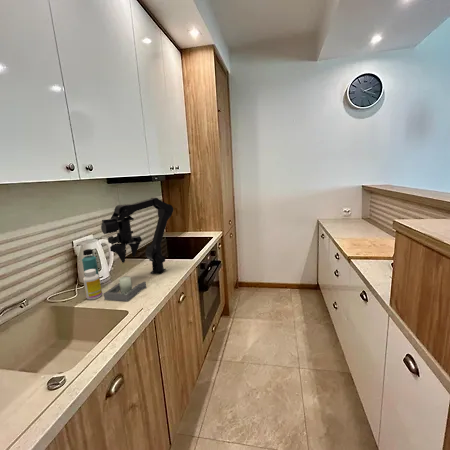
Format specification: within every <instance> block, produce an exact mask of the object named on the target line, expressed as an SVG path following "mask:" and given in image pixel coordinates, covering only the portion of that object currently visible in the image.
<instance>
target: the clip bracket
mask: <svg viewBox="0 0 450 450" xmlns="http://www.w3.org/2000/svg"><path fill="white" fill-rule="evenodd" d="M144 289H147V283H146V281H142V282H140V283H138V284H136V285H134V287H132V289H131V290H130V291H129V292H127V293H121V291H120V284H119V282H118V283H116V284H115V285H114V286H112V287H110V289H108V290H107V291H105V292H103V299H104V301H117V302H130V301H131V300H132V299H133V298H135V296H137V294H139V293H140V292H141V291H143V290H144Z"/></svg>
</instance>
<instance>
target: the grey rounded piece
mask: <svg viewBox="0 0 450 450" xmlns="http://www.w3.org/2000/svg"><path fill="white" fill-rule="evenodd" d="M118 283H119V284H120V291H119V292H120V293H127V292H129V291H130V290H131V289H132V288H133V284H132V277H131V276H122V277H120V278H119V279H118Z"/></svg>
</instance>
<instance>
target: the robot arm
mask: <svg viewBox="0 0 450 450" xmlns="http://www.w3.org/2000/svg"><path fill="white" fill-rule="evenodd" d="M151 207H154V209H156V210H157V216H158V220H157V223H156V226H155V230H154V234H153V238H152V240H151V241H152V242H151V244H150V245H147V246H146V249H145V251H144V253H145V257H146V258H147V259H148V260H149V262H152V263H151V265H152V266H151V267H152V271H151V272H150V274H158V275H159V274H160V275H162V273H164V272H165V271H166V270H167V269H166V268H164V263H165V262H166V257H165V256H164V255H162V246H161V245H162V242H163V238H164V234H165V230H166V227H167V223H168V220H169V219H171V216H172V215H173V212H174V207H173V205H172V204H168V203H166V202H164V201H162V200H160V199H159V198H157V197H150V198H149V199H144V200H141V201H138V202H137V201H136V202H134V203H127V204H125V203H124V204H117V205H116V206H115V208H114V210H113V211H114V212H113V214H112V215H111V217H110V218H108V219H102V220H101V226H100V229H101V232H102V234H103V235H107V234H112V233H116V236H113V235H111V236H109V237H107V242H108V243H109V244H111V245H110V246H109V249H110V252H112V253H115V254H117V256H118V258H119V259H120V261H121V263H123V264H124V263H125V262H126V255H127V254H126V253H127V247H126V246H129V247H130V250H131V255H132V257H136V255H137V252H138V249H139V247H140V245H141V242H142V241H143V240H142V237H141V236H140V235H137V236H135V235H132V234H134V231H133V230H132V226H131V221H134V220H135V219H134V217H132V216H131V215H133V214H134V213H136V212H138V211H141V210H144V209H147V208H151Z"/></svg>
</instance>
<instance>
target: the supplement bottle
mask: <svg viewBox="0 0 450 450" xmlns="http://www.w3.org/2000/svg"><path fill="white" fill-rule="evenodd" d="M84 274H85V275H84ZM98 274H99V273H98ZM98 274H96V269H89V270H86V271H84V270H83V275H84V277H83V279H82V280H83V287H84V292H85V297H86V299H87V300H95V299H98V298H101V296H102V295H103V292H102V286H101V285H102V284H101V279H100V274H99V275H98Z"/></svg>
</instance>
